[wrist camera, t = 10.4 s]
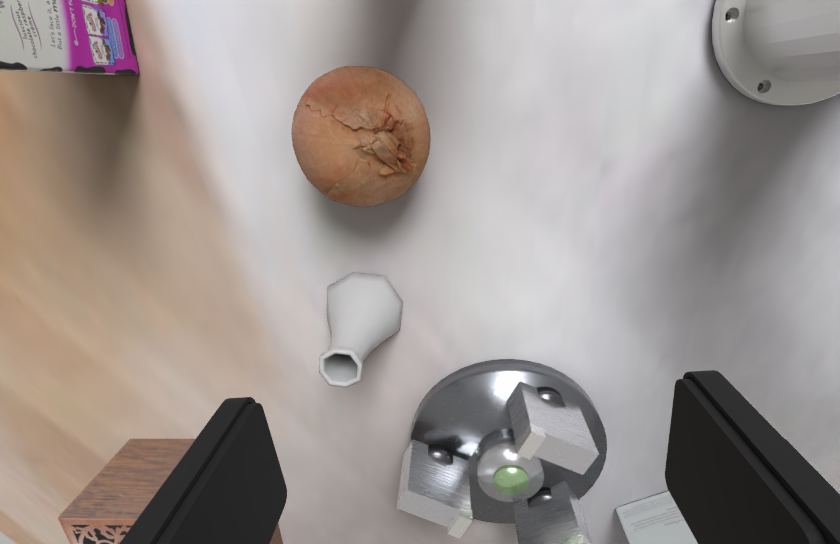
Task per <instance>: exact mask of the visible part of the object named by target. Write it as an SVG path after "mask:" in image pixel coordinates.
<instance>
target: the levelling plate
mask: <svg viewBox="0 0 840 544" xmlns="http://www.w3.org/2000/svg"><path fill="white" fill-rule="evenodd" d="M520 381H521V382H523V383H526V384H528V385H531V386H533V387H536V388H537V387H551V388H553V389H555V390H557V391H558V392H559V393H560V394H561V396H562V398H563V399H565V400H567V401H570V402H572V403H575V404H577V405H579V407H580V410H581V412H582V414H583V417H584V419H585V422H586V424H587V426H588V429H589V431H590V434H591V436H592V439H593V441H594V443H595V446H596V448H597V451H598V453H599V455H598V457H597V458H596V459H595V460H594V462H593V463H592V464H591V465H590V467H589V468H588V469H587V471H586V472H585V473H584V474H583V475H582V474H579V473H577V472H574V471H572V470H569V469H566V468H564V467H561V466H559V465H556V464H554V463H551V462H549V461H546V460H544V459H541V458H539V457H536V456H532V458H531V459H530V460H529V459H526V458H524V457H521V456H519V455H516V450H515V444H516V443H515V438H514V432H513V427H512V422H511V417H510V411H509V406H508V399H509V398H510V396H511V394H512V393H513V391H514V390H515V388H516V387H517V385H518V383H519V382H520ZM412 440H416V441H418V442H421V443H423V444H426V445H434V444H436V445H442V446H444V447H446V448H448V449H449V450H450V451H451V452H452V454H453V455H454V456H456V457H459V458H462V459H464V460H467V461H468V464H469V483H470V502H471V510H472V515H473V519H477V520H482V521H486V522H495V523H516V522H515V516H514V509H513V504H516V503H518V502H520V501H522V500H525V499H527V498H529V497H531V496H533V495H534V494H536V493H537V492H538V491H539V489H540V488H541V487H549V488H550V487H553V486H555V485H557V484H559V483H561V482H563V481H565V482H566V483H567V484H568V486H569V487H570V488H571V489H572V491H573V492H574V493H575V494H576V496H577V498H578V500H579V499H580V498H581V497H582V496H584V495H585V494H586V493H587V491H588V490H589V489H590V488H591V487H592V486H593V484H594V483H595V482H596V480H597V479H598V477H599V475H600V473H601V471H602V469H603V465H604V462H605V459H606V452H607V441H606V435H605V430H604V427H603V424H602V422H601V420H600V417H599V415H598V413H597V411H596V409H595V407H594V405H593V403H592V401H591V400H590V398H589V396H588V395H587V394H586V393H585V392H584V390H583V389H582V388H581V387H580V386H579V385H578V384H577V383H575V382H574V381H573V380H572V379H570V378H569V377H567V376H566V375H564V374H563V373H561V372H559V371H557V370H555V369H553V368H551V367H548V366H545V365H542V364H539V363H534V362H530V361H524V360H514V359H500V360H491V361H485V362H481V363H476V364H473V365H470V366H467V367H464V368H462V369H460V370H458V371H456V372H454V373H452V374H450V375H448V376H447V377H445V378H444V379H442V380H441V381H440V382H439V383H438V384H436V385H435V386H434V387H433V388H432V389H431V390H430V391H429V392H428V394H427V395H426V396H425V397H424V399H423V400H422V402H421V403H420V405H419V407H418V409H417V412H416V414H415V417H414V421H413V426H412V435H411V442H412Z"/></svg>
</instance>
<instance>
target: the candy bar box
mask: <svg viewBox="0 0 840 544" xmlns="http://www.w3.org/2000/svg"><path fill="white" fill-rule="evenodd" d="M0 70H7V71H31V72H55V73H78V74H108V75H137V74H139V71H138V64H137V59H136V54H135V49H134V44H133V40H132V35H131V30H130V25H129V20H128V15H127V10H126V6H125V1H124V0H0Z"/></svg>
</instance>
